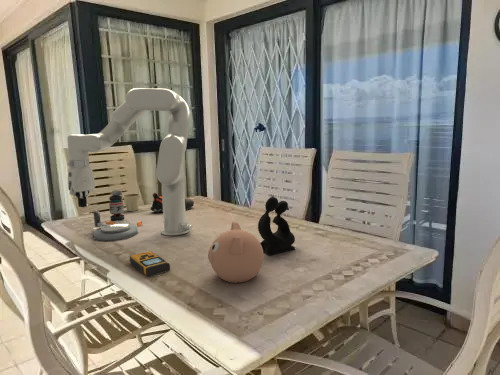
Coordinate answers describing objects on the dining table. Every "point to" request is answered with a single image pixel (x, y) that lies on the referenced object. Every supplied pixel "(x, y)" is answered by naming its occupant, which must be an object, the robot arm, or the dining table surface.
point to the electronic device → (149, 263)
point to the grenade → (116, 206)
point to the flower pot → (131, 201)
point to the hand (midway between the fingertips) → (82, 206)
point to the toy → (236, 255)
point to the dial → (110, 224)
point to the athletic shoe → (158, 204)
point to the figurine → (282, 236)
